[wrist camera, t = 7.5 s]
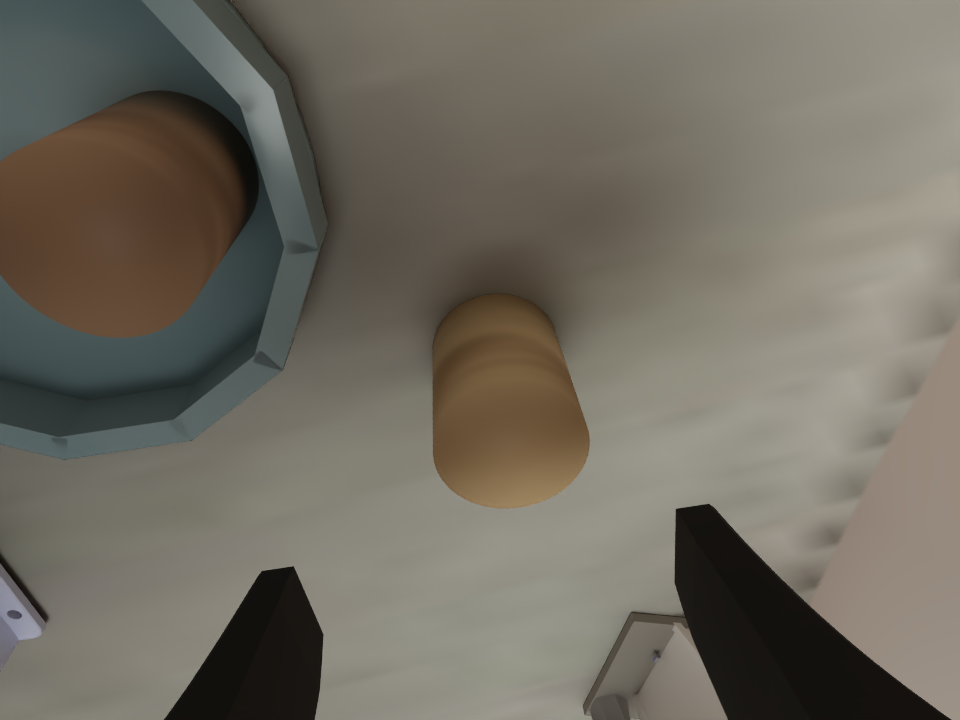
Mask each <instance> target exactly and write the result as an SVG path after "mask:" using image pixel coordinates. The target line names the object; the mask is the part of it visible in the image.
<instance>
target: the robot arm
mask: <svg viewBox="0 0 960 720" xmlns="http://www.w3.org/2000/svg"><path fill="white" fill-rule="evenodd" d="M675 585H676V589H677V592H678V595H679V598H680V602H681V605H682V608H683V611H684V615H685V618H686V621H687V624H688V627H689V630H690V633H691V636H692V639H693V641H694V643H695V646H696V648H697V650H698V653H699V655H700V657H701V660H702V662H703V664H704V666H705V669H706V671H707V673H708V676H709V678H710V680H711V683H712V685H713V687H714V689H715V692H716V694H717V696H718V698H719V701H720V703H721V705H722V708H723V710H724V712H725V714H726V717H727V719H728V720H951V719H950V718H948V717H947V716H945V715H944V714H942V713H941V712H940V711H938V710H937V709H936V708H934V707H933V706H932V705H930V704H929V703H927V702H926V701H925V700H923V699H922V698H921V697H919V696H918V695H917V694H915V693H914V692H912V691H911V690H910V689H908V688H907V687H906V686H904V685H903V684H902V683H901V682H899V681H898V680H897V679H895V678H894V677H893V676H892V675H890V674H889V673H888V672H886V671H885V670H884V669H883V668H881V667H880V666H879V665H877V664H876V663H875V662H874V661H873V660H871V659H870V658H869V657H867V656H866V655H865V654H864V653H863V652H862V651H860V650H859V649H858V648H857V647H856V646H854V645H853V644H852V643H851V642H850V641H848V640H847V639H846V638H845V637H844V636H843V635H842V634H840V633H839V632H838V631H837V630H836V629H835V628H834V627H832V626H831V625H830V624H829V623H828V622H827V621H826V620H824V619H823V618H822V617H821V616H820V615H819V614H818V613H817V612H816V611H815V610H813V609H812V608H811V607H810V606H809V605H808V604H807V603H806V602H805V601H804V600H803V599H802V598H801V597H800V596H799V595H798V594H796V593H795V592H794V591H793V590H792V589H791V588H790V587H789V586H788V585H787V584H786V583H785V582H784V581H783V580H782V579H781V578H780V577H779V576H778V575H777V574H776V573H775V572H774V571H773V570H772V569H771V568H770V567H769V566H768V565H767V564H766V563H765V562H764V561H763V560H762V559H761V558H760V557H759V556H758V555H757V554H756V553H755V552H754V551H753V550H752V549H751V548H750V547H749V546H748V544H747V543H746V542H745V541H744V540H743V539H742V538H741V537H740V536H739V535H738V534H737V533H736V532H735V530H734V529H733V528H732V527H731V526H730V525H729V524H728V523H727V522H726V520H725V519H724V518H723V517H722V516H721V515H720V514H719V513H718V511H717V510H716V509H715V508H714V507H712V506H711V505H710V504H705V505H699V506H692V507H685V508H679V509H676V532H675ZM45 627H46V624H45V622H44V620H43V619H42V618H41V616H40V615H39V614H38V612H37V611H36V610H35V608H34V607H33V606H32V604H31V603H30V602H29V601H28V599H27V598H26V597H25V595H24V594H23V593H22V591H21V590H20V589H19V587H18V586H17V585H16V583H15V582H14V581H13V580H12V578H11V577H10V576H9V574H8V573H7V572H6V570H5V569H4V568H3V566H2V565H1V564H0V671H1V669H2V668H3V666H4V664H5V663H6V661H7V659H8V658H9V656H10V654H11V653H12V651H13V649H14V648H15V646H16V644H17V643H18V640H25V639H32V638H36V637H39V636H40V635H41V634H42V632H43V631H44V629H45ZM322 649H323V633H322V630H321V628H320V626H319V623H318V621H317V619H316V617H315V614H314V612H313V610H312V607H311V605H310V603H309V600H308V598H307V596H306V594H305V591H304V589H303V587H302V584H301V582H300V580H299V577H298V575H297V573H296V571H295V568H294V566H293V567H286V568H280V569H273V570H266V571H262V572H261V573H260V574H259V576H258V577H257V579H256V580H255V582H254V583H253V585H252V587H251V588H250V590H249V592H248V593H247V595H246V596H245V598H244V600H243V601H242V603H241V605H240V606H239V608H238V609H237V611H236V613H235V614H234V616H233V618H232V619H231V621H230V622H229V624H228V626H227V627H226V629H225V630H224V632H223V633H222V635H221V637H220V638H219V640H218V641H217V643H216V645H215V646H214V648H213V649H212V651H211V652H210V654H209V655H208V657H207V658H206V660H205V661H204V663H203V664H202V666H201V667H200V669H199V670H198V672H197V673H196V675H195V676H194V678H193V680H192V681H191V682H190V684H189V685H188V687H187V688H186V690H185V691H184V693H183V694H182V695H181V697H180V698H179V700H178V701H177V702H176V704H175V705H174V707H173V708H172V709H171V711H170V712H169V714H168V715H167V716H166V718H165V719H164V720H315V714H316V709H317V703H318V697H319V691H320V679H321V666H322Z"/></svg>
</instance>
